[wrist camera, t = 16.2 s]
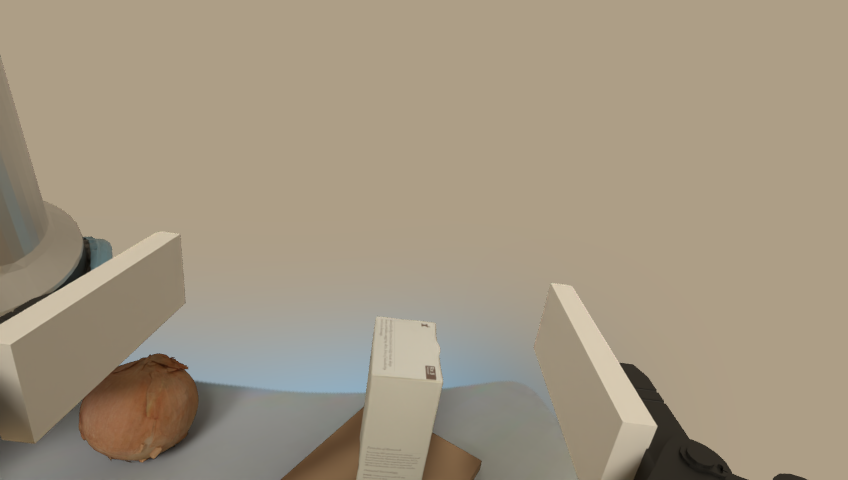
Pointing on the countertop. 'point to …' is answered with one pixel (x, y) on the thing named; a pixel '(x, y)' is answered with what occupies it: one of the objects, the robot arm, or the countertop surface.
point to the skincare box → (400, 400)
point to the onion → (139, 409)
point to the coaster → (339, 456)
